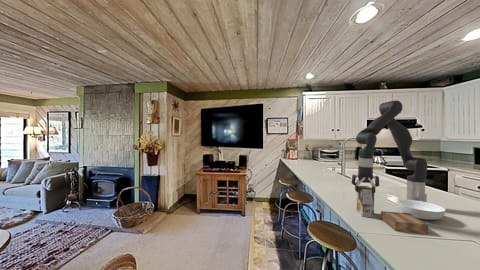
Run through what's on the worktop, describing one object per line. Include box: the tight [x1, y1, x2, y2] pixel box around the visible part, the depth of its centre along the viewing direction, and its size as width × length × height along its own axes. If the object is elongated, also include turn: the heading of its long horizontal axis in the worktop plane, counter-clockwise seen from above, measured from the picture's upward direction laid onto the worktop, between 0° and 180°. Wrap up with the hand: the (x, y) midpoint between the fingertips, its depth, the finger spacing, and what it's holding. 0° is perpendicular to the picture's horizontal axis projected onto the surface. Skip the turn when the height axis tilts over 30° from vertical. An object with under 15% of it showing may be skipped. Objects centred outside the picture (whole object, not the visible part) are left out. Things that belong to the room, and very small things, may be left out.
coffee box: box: [356, 185, 375, 218], centre depth 120 cm, size 9×6×16 cm
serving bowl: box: [397, 199, 447, 221], centre depth 117 cm, size 21×21×7 cm
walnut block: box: [380, 210, 429, 235], centre depth 104 cm, size 14×14×5 cm
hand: (364, 192), depth 120 cm, fingers open, 8 cm apart
